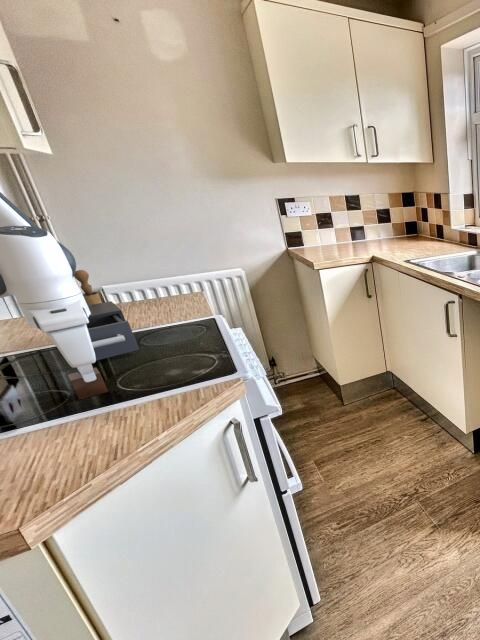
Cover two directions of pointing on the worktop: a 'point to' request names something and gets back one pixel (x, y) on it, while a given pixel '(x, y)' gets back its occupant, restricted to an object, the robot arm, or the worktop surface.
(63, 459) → the worktop surface
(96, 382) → the block
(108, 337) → the drawer
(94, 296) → the mortar and pestle
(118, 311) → the cabinet
